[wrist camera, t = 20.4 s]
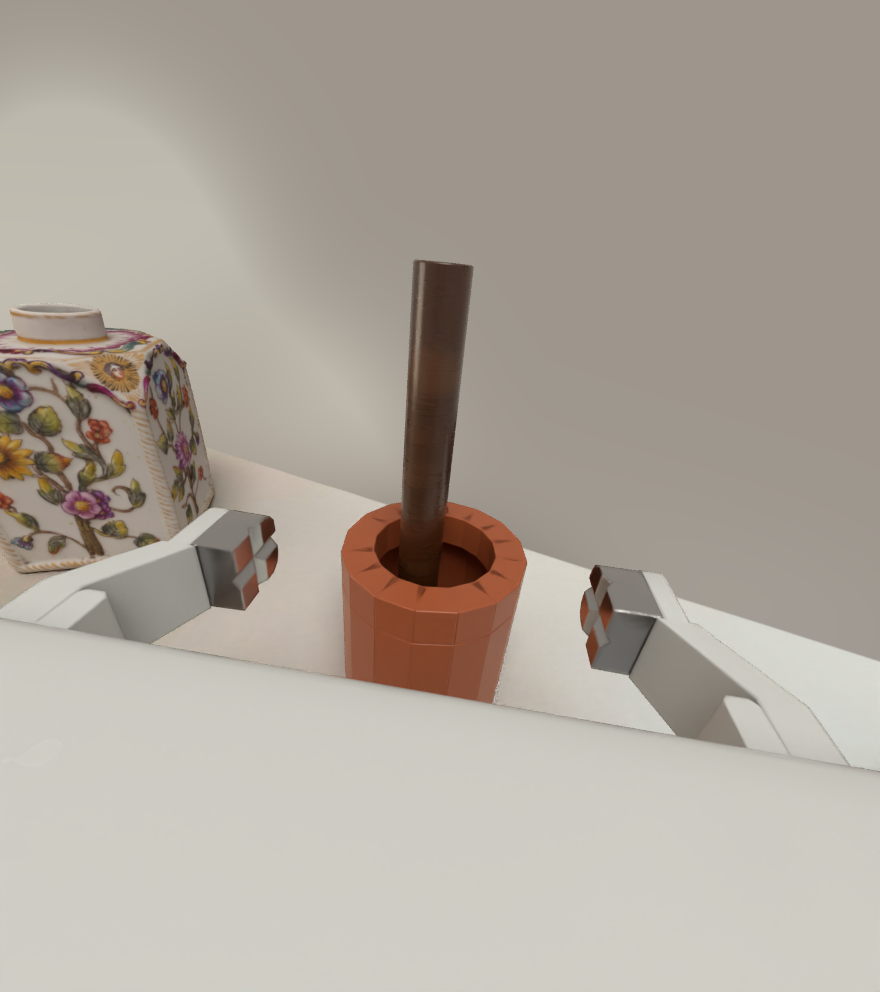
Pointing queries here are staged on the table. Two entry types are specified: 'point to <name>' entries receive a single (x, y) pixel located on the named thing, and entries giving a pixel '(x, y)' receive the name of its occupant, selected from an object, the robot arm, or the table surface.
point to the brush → (431, 412)
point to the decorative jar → (93, 440)
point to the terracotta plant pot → (431, 605)
